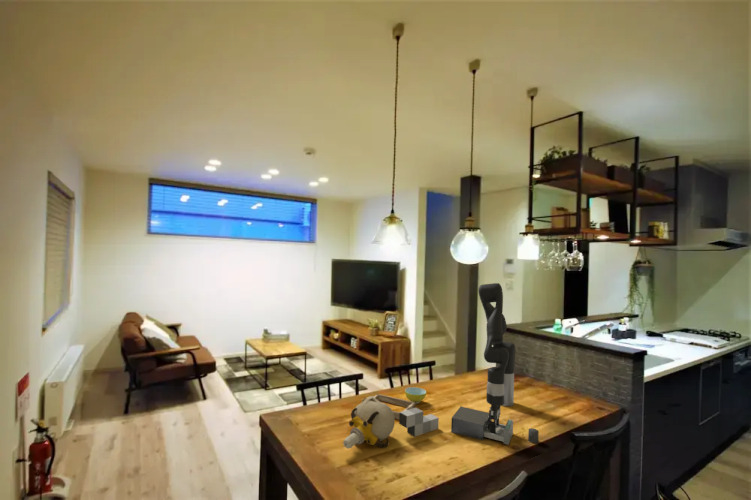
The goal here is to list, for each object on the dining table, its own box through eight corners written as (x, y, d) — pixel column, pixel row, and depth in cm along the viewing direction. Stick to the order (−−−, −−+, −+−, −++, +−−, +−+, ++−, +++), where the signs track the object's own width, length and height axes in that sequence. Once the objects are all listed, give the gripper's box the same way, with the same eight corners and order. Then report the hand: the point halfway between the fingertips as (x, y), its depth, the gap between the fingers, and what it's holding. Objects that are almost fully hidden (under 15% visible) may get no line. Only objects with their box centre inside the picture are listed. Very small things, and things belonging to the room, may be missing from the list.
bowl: (427, 407, 192) (427, 395, 192) (405, 406, 192) (405, 394, 193) (424, 398, 204) (425, 387, 204) (404, 398, 204) (404, 386, 204)
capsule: (528, 437, 162) (529, 427, 162) (538, 440, 160) (538, 429, 160) (527, 441, 158) (528, 431, 158) (537, 444, 156) (538, 433, 156)
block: (406, 440, 156) (406, 416, 157) (398, 435, 160) (399, 412, 161) (438, 428, 168) (438, 406, 168) (430, 424, 172) (431, 402, 172)
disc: (489, 426, 167) (489, 423, 167) (502, 430, 164) (502, 426, 164) (486, 432, 162) (486, 428, 162) (500, 435, 159) (500, 431, 159)
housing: (460, 419, 178) (460, 406, 178) (489, 427, 171) (490, 413, 171) (451, 432, 164) (451, 417, 165) (482, 440, 158) (483, 425, 158)
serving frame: (377, 399, 200) (377, 393, 201) (415, 408, 190) (415, 402, 190) (362, 410, 186) (362, 404, 186) (401, 420, 175) (401, 414, 175)
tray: (479, 425, 172) (479, 412, 172) (512, 433, 165) (513, 420, 165) (473, 435, 161) (473, 422, 161) (508, 444, 154) (508, 430, 154)
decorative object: (367, 385, 170) (317, 410, 148) (406, 407, 156) (357, 439, 133) (364, 415, 173) (314, 444, 150) (402, 439, 158) (353, 475, 136)
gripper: (490, 385, 171) (489, 421, 171) (483, 395, 159) (482, 433, 158) (506, 389, 168) (506, 425, 167) (501, 399, 155) (500, 438, 155)
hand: (494, 429), depth 163 cm, fingers open, 7 cm apart
